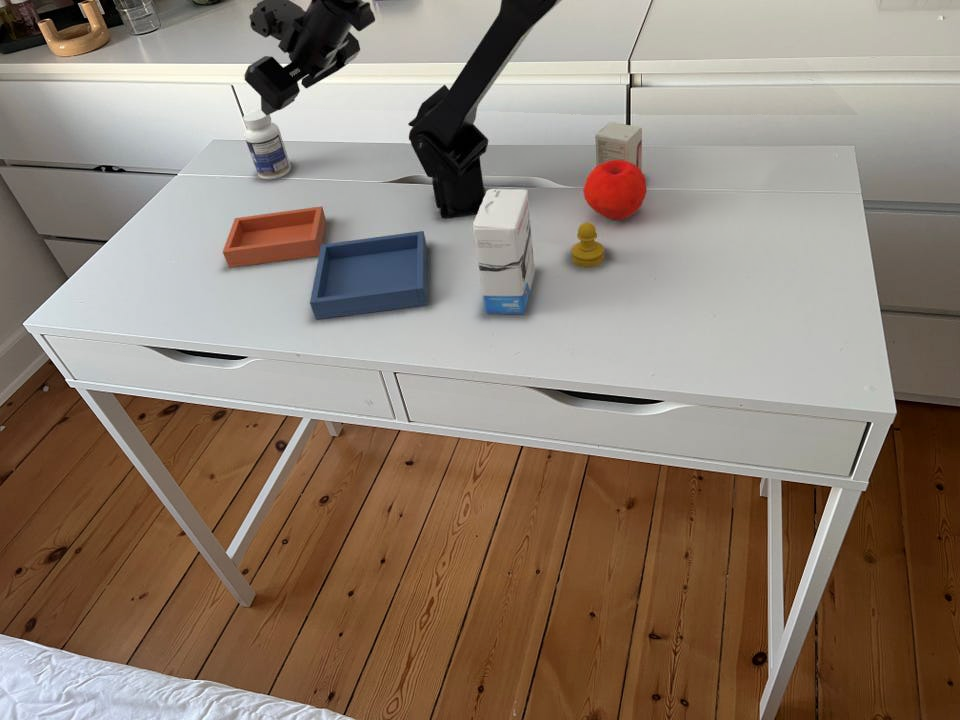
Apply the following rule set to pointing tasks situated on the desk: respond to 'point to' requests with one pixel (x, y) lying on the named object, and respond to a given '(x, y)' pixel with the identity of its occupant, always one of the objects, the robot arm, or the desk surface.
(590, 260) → the chess piece
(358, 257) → the blue tray
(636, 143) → the small box
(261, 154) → the pill bottle
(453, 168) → the robot arm
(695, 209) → the desk surface
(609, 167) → the apple
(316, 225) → the terracotta tray
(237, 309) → the desk surface
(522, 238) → the ink box
